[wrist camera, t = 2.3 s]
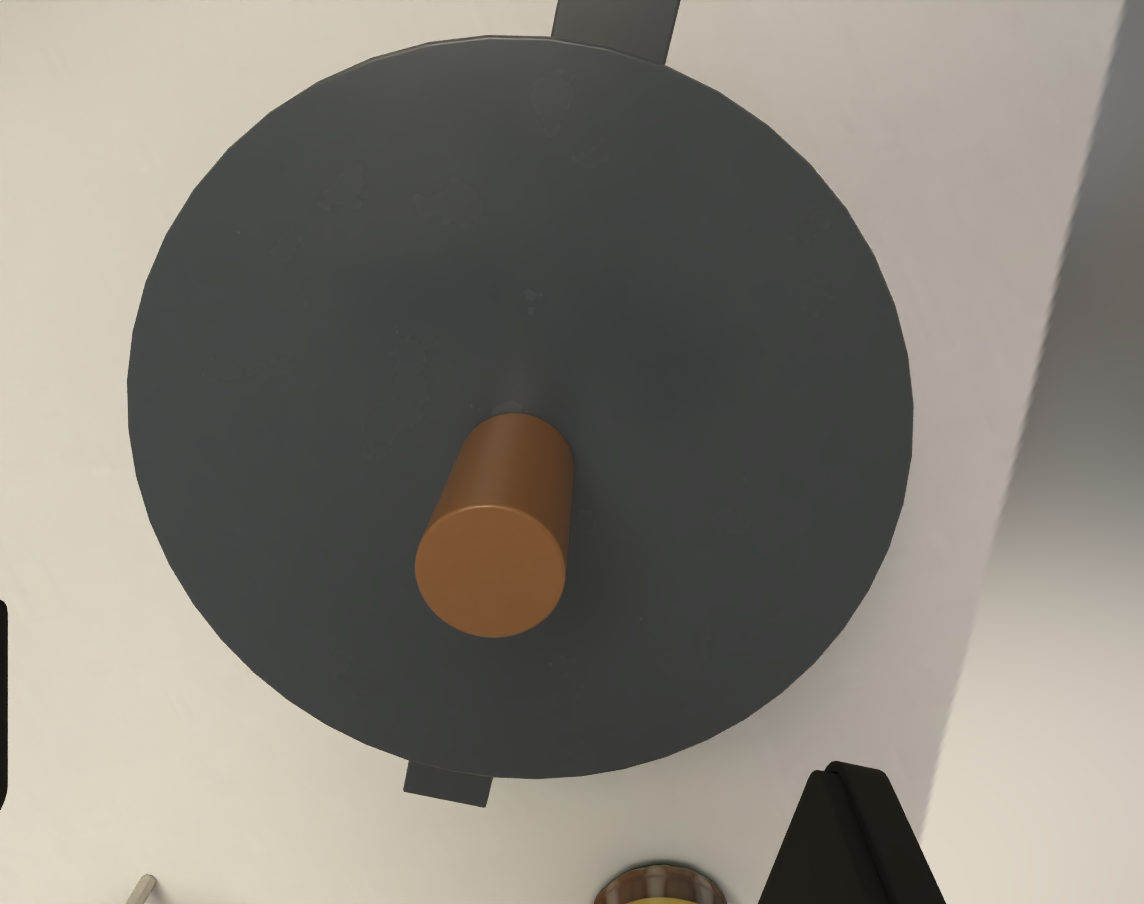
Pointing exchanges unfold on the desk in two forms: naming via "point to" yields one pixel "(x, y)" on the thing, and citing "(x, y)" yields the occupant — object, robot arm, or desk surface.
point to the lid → (520, 407)
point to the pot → (642, 28)
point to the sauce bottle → (661, 887)
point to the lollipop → (142, 890)
